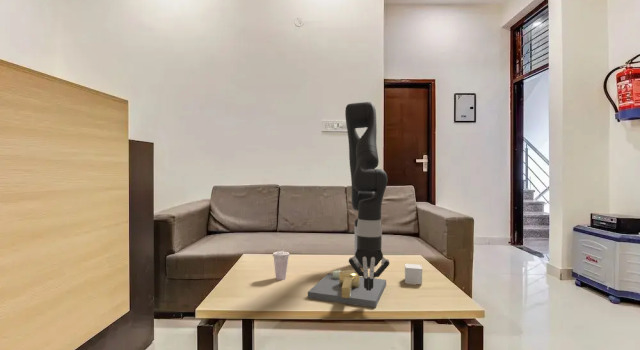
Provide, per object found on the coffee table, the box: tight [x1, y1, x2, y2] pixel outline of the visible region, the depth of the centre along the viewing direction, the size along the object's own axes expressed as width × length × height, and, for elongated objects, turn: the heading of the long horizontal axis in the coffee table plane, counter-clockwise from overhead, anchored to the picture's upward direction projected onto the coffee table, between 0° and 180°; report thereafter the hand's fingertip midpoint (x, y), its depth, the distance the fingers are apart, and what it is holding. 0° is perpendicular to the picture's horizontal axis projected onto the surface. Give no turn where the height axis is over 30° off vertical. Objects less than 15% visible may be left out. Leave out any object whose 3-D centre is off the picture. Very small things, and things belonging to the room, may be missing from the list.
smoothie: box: [272, 241, 290, 281], centre depth 128 cm, size 6×6×14 cm
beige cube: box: [404, 263, 423, 285], centre depth 126 cm, size 6×6×6 cm
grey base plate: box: [307, 270, 387, 309], centre depth 115 cm, size 22×22×5 cm
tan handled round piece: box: [339, 269, 361, 298], centre depth 109 cm, size 18×7×4 cm, turn 170°
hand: (368, 289), depth 103 cm, fingers closed
